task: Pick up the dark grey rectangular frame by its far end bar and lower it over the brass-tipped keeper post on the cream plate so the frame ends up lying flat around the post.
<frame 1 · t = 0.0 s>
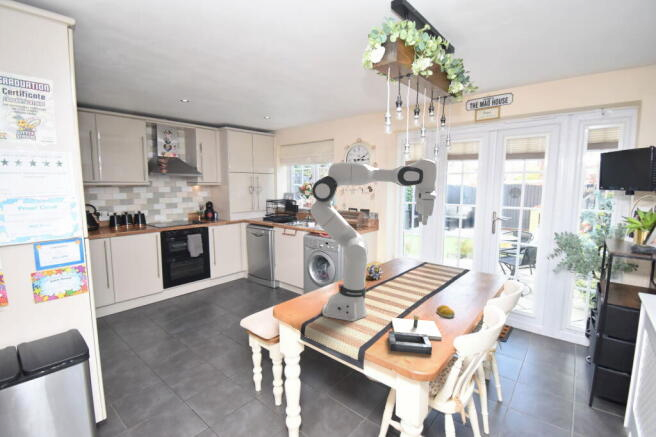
hand: (422, 223, 143), 48 cm above the table, tool pointing down, fingers open, 8 cm apart
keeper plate: (415, 329, 138), on the table
passion flower: (373, 278, 208), on the table
bread roll: (445, 314, 156), on the table
dark grey rectangular frame: (408, 345, 125), on the table
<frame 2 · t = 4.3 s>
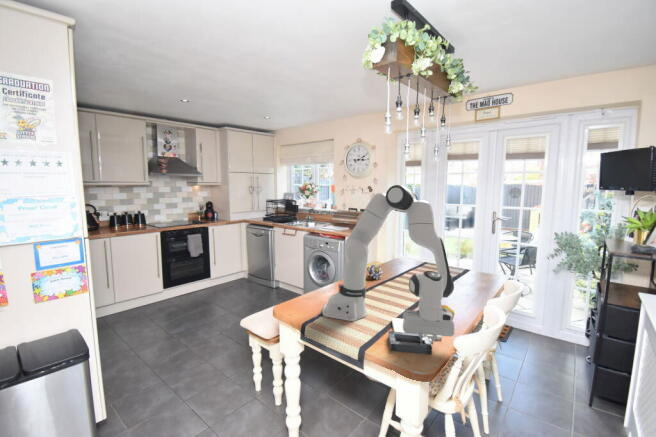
hand: (426, 343, 124), 2 cm above the table, tool pointing down, fingers closed on dark grey rectangular frame, 2 cm apart
dark grey rectangular frame: (408, 345, 125), on the table, touching gripper
everything else where it was.
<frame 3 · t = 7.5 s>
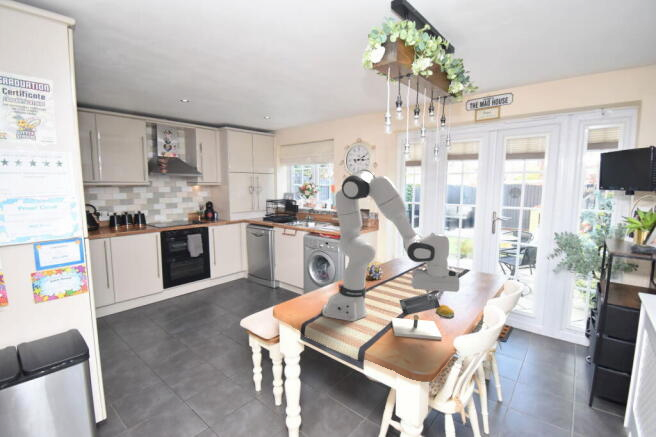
hand: (433, 299, 135), 15 cm above the table, tool pointing down, fingers closed on dark grey rectangular frame, 2 cm apart
dark grey rectangular frame: (419, 306, 137), point 11 cm above the table, tilted 19°, touching gripper
everything else where it was.
when the fingers open (5 cm above the table, at t = 10.5 s): dark grey rectangular frame stays where it is, resting on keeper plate.
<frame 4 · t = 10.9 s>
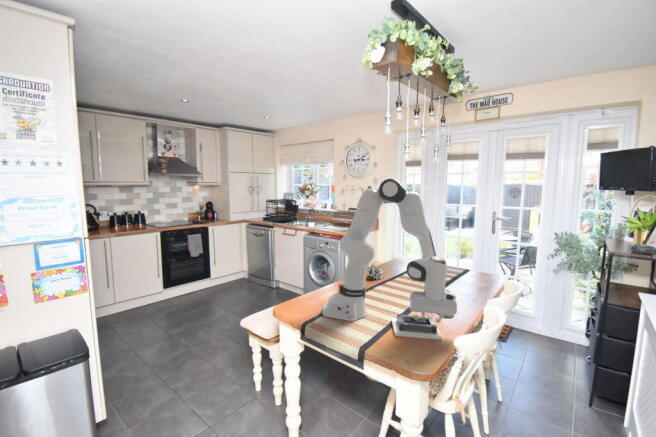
hand: (431, 321, 137), 5 cm above the table, tool pointing down, fingers open, 5 cm apart
dark grey rectangular frame: (415, 326, 138), point 1 cm above the table, touching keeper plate
everything else where it was.
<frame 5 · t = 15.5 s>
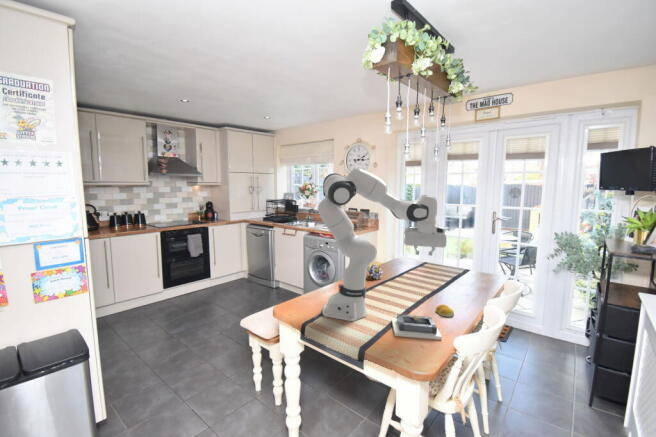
hand: (423, 254, 151), 31 cm above the table, tool pointing down, fingers open, 5 cm apart
nothing on the table moved.
at the end: dark grey rectangular frame inside the target area on the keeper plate (0.3 cm from its centre), point 1.5 cm above the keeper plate's base; the gripper is holding nothing; dark grey rectangular frame tilted 0° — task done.
